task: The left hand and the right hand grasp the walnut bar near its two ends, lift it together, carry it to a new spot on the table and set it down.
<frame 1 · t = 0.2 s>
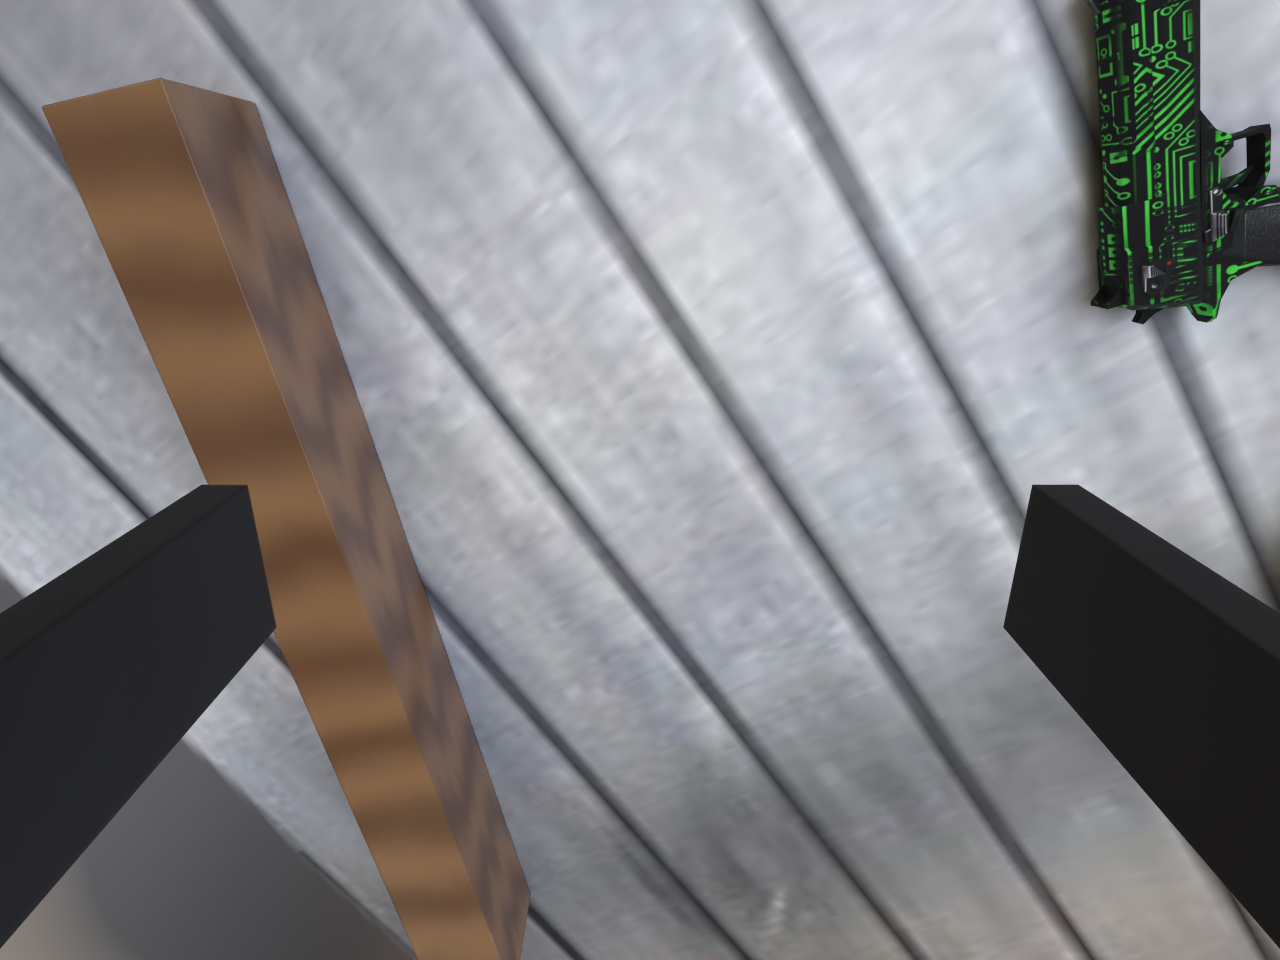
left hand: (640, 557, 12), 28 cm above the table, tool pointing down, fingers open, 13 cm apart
handgun: (1218, 147, 35), on the table
bar: (382, 587, 44), on the table
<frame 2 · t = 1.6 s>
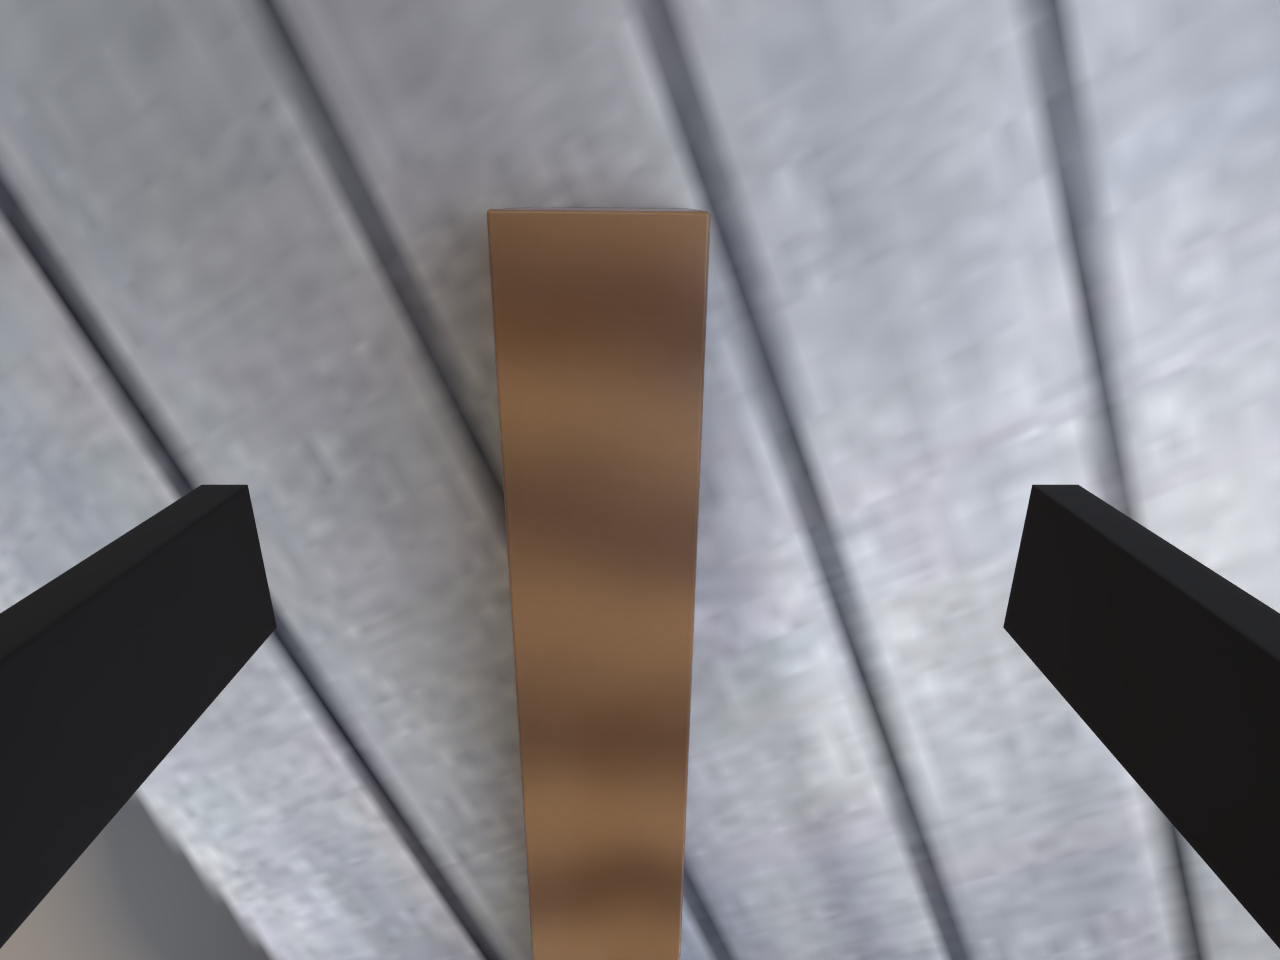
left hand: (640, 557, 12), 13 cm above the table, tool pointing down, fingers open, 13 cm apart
bar: (614, 837, 32), on the table
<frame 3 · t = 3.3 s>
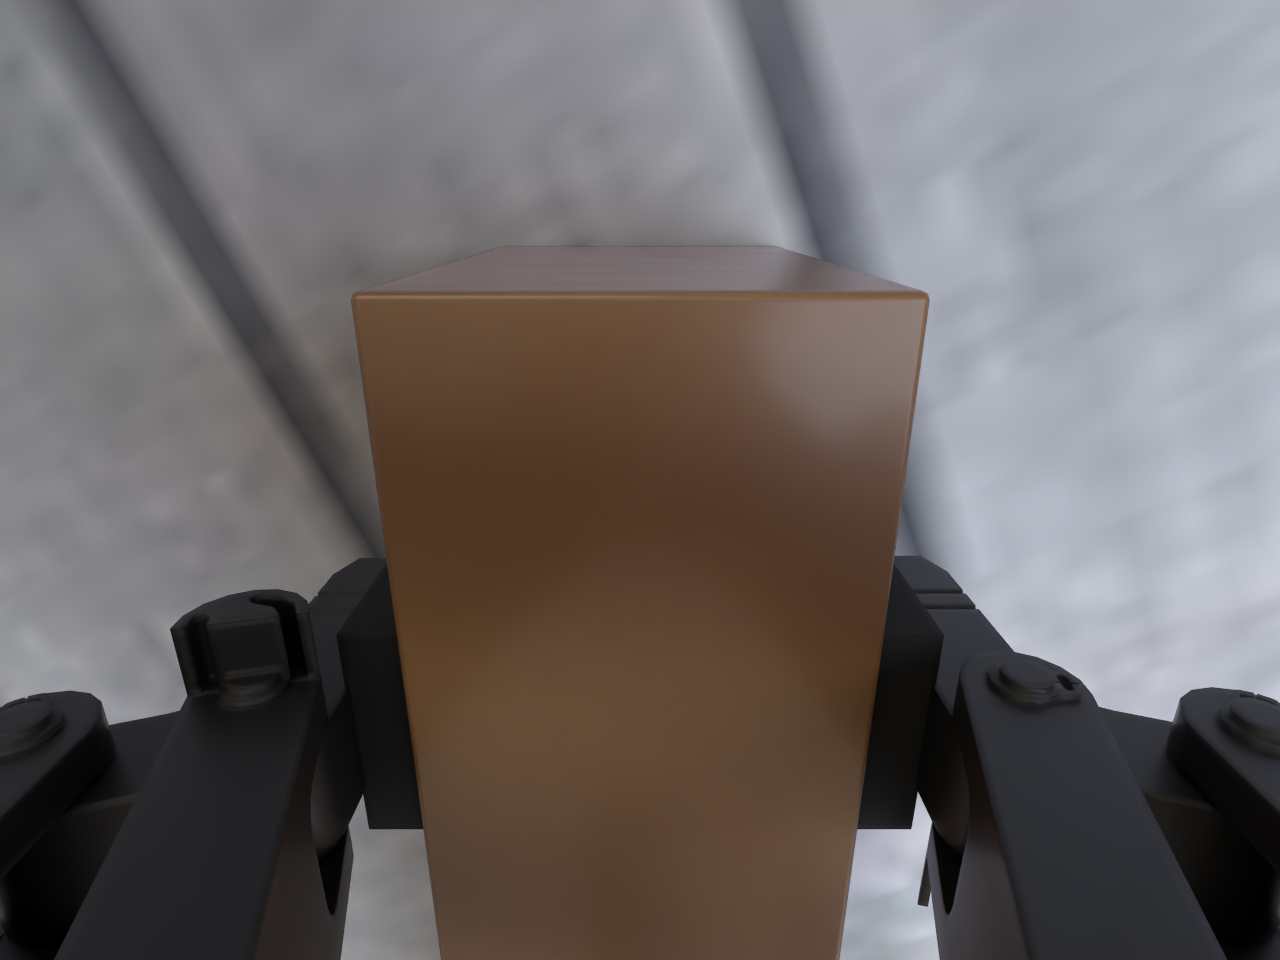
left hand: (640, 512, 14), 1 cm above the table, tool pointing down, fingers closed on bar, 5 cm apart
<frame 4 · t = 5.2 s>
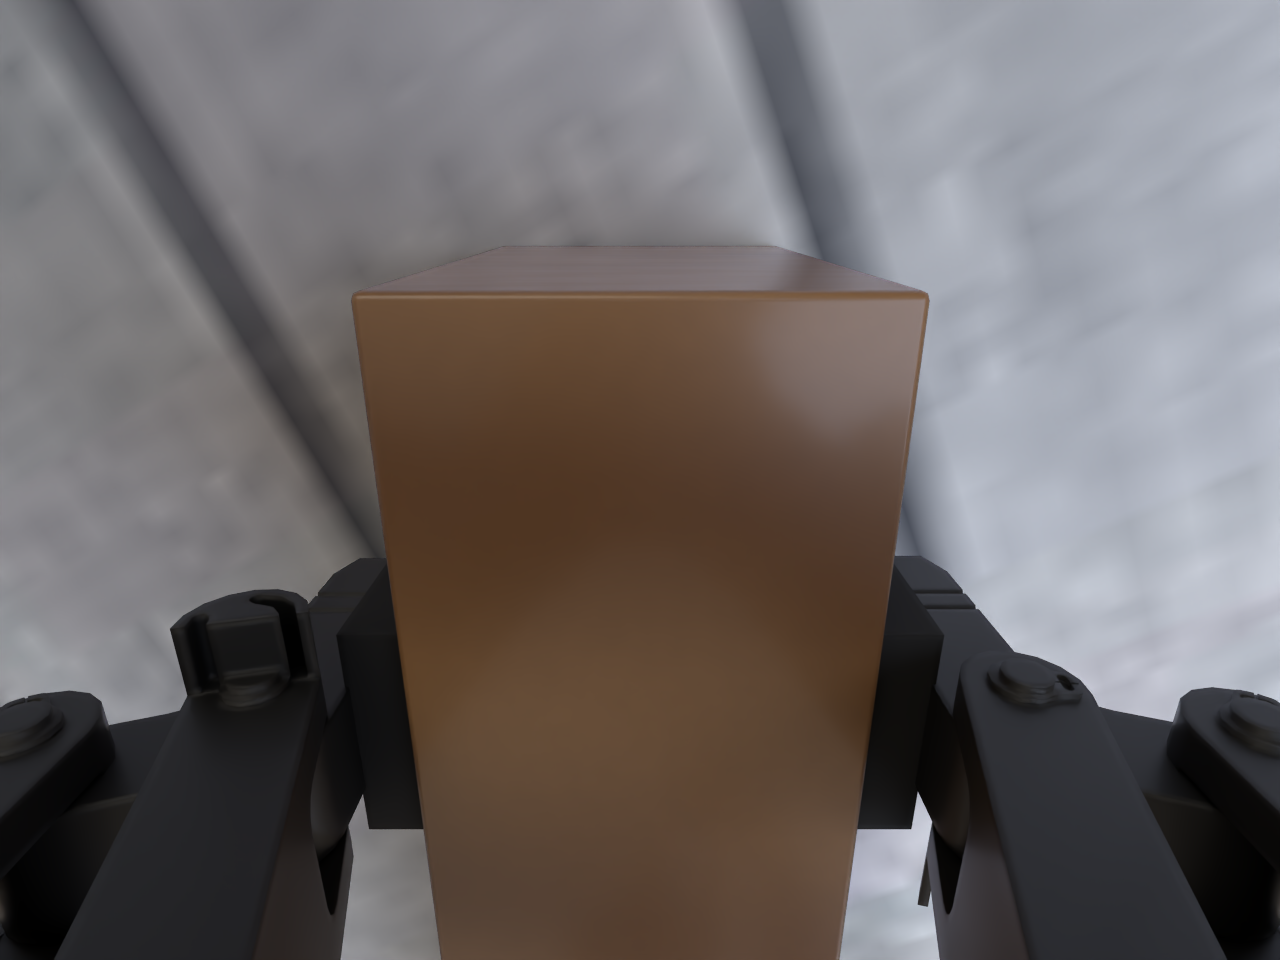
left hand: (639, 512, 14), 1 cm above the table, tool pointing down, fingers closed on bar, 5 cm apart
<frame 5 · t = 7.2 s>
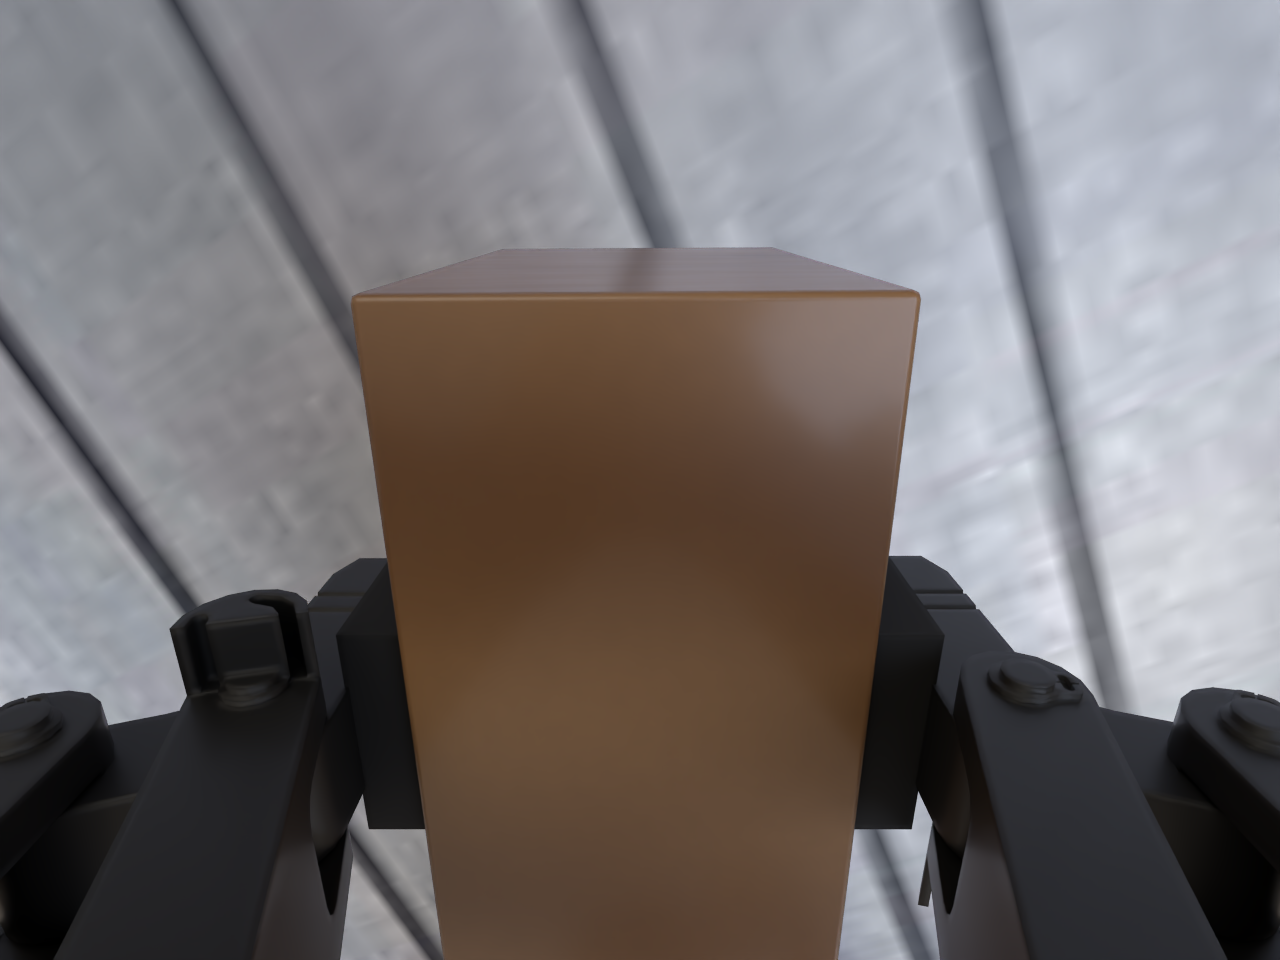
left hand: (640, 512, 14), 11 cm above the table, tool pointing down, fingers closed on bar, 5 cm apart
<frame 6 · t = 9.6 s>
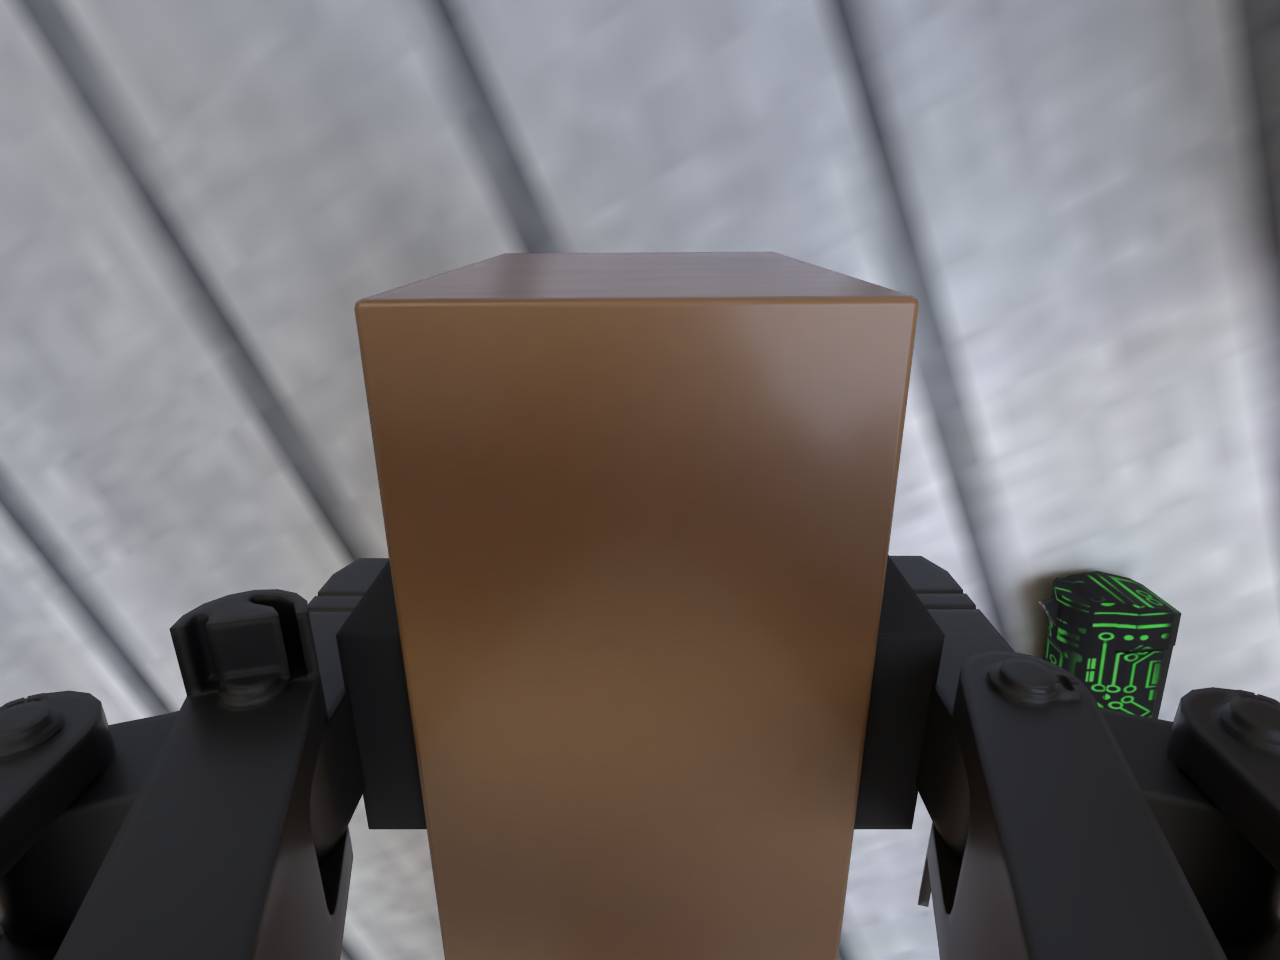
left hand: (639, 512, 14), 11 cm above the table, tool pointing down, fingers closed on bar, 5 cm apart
handgun: (1166, 746, 30), on the table
when the left hand's fingers open (2 cm above the table, at t = 11.3 s): bar drops 1 cm, on the table.
when the right hand's fingers open (4 cm above the table, at t = 11.5 s): bar stays where it is, on the table.
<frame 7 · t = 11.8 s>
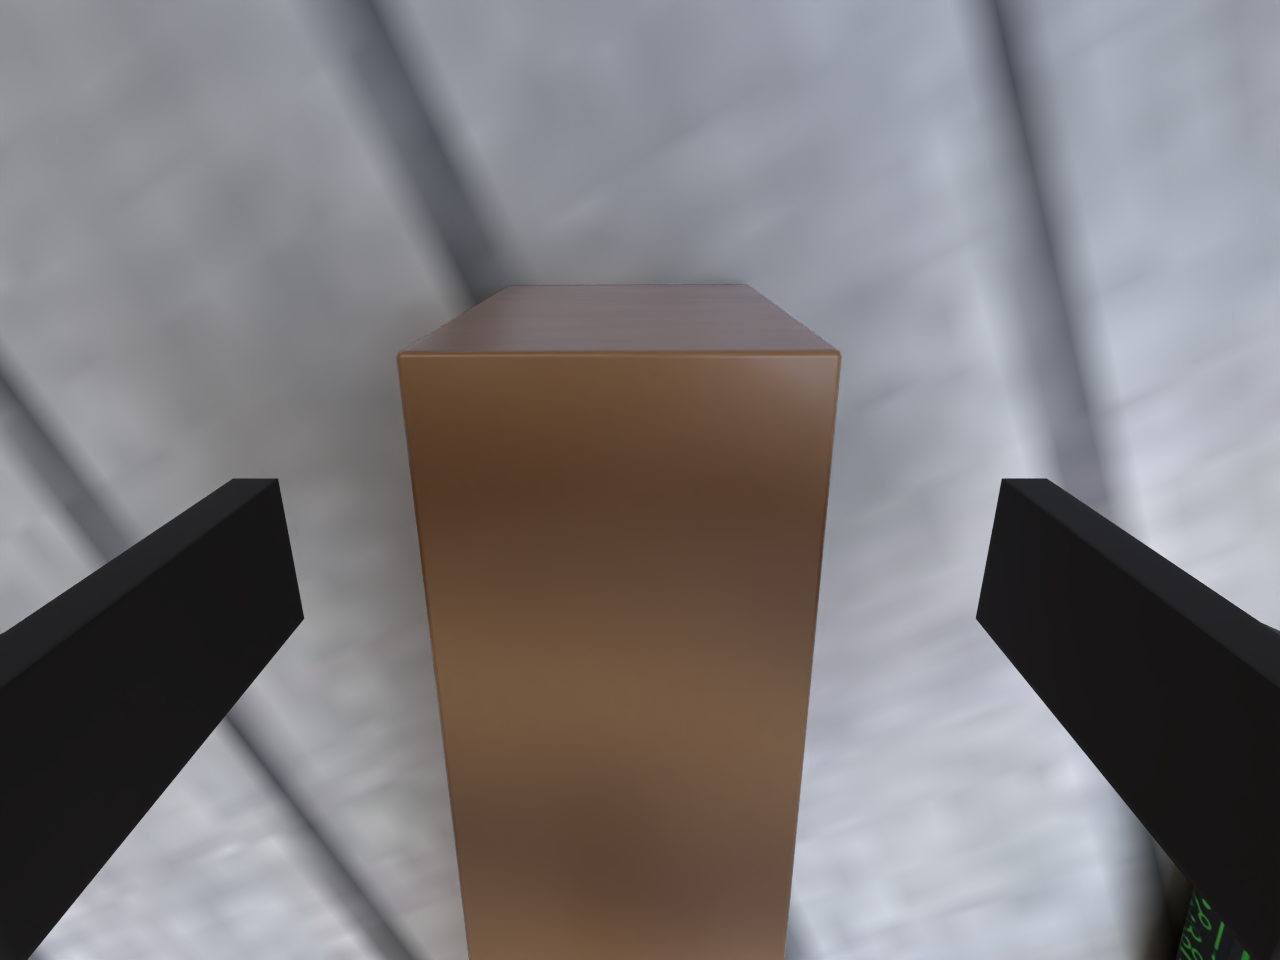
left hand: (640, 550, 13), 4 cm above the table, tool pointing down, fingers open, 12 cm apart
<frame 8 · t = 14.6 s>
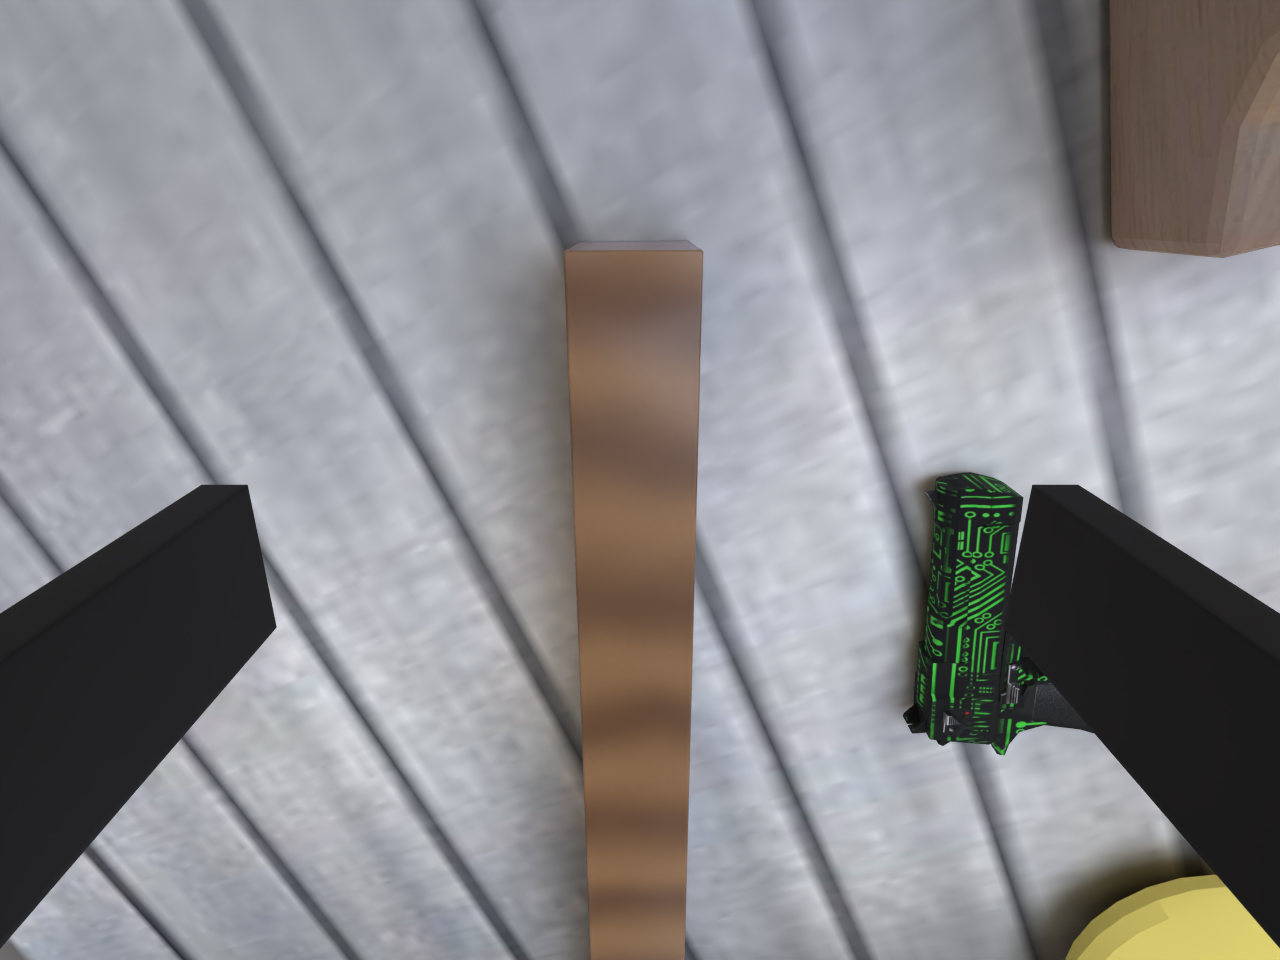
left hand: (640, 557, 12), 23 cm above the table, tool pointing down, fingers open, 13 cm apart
handgun: (1030, 612, 40), on the table
decorative block: (1191, 45, 30), on the table
bar: (637, 718, 42), on the table
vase: (1160, 932, 48), on the table
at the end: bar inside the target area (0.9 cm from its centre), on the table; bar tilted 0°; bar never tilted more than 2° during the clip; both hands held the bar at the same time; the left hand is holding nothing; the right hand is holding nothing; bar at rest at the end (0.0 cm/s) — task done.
